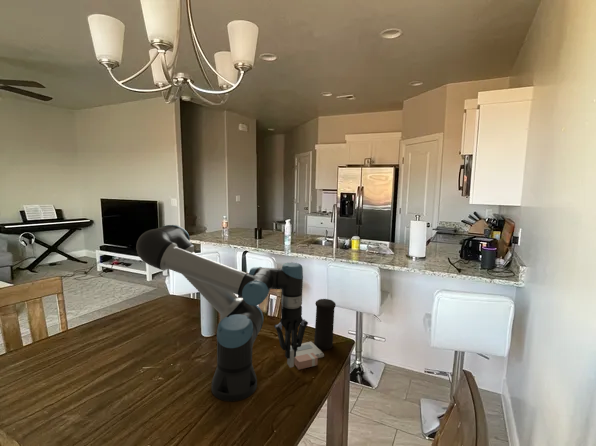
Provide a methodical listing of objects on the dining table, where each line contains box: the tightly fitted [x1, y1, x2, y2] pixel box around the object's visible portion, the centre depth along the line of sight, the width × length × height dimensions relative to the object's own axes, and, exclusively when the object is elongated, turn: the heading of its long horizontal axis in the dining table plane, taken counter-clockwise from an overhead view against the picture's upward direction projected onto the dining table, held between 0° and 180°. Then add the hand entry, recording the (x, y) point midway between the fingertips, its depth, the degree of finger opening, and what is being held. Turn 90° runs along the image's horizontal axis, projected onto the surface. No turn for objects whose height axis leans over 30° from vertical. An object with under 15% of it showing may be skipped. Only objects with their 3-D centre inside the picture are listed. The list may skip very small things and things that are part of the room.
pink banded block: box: [294, 353, 319, 370], centre depth 124 cm, size 8×4×3 cm, turn 115°
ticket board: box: [290, 341, 325, 359], centre depth 132 cm, size 12×11×1 cm
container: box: [313, 298, 336, 351], centre depth 138 cm, size 9×9×20 cm
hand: (290, 365), depth 120 cm, fingers closed
